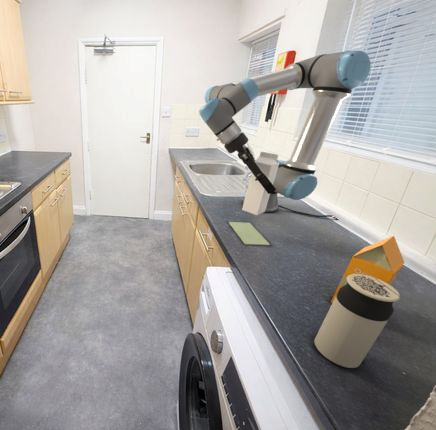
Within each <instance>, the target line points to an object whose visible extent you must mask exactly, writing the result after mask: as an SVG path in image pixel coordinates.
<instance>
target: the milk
mask: <svg viewBox="0 0 436 430" xmlns="http://www.w3.org/2000/svg"><path fill="white" fill-rule="evenodd" d="M278 158H279V154H278V153H277V154H276V153H271V152H265V151H261V152H260V154H259V156H258V157H257V158H256V159H255V163H256V164H257V165H258V167H259V168H260V170H261V171H262V172H263V173H264V174H265V175H266V177H267V178H268V179H269V181H270V182H271V183H272V184H273V183H274V180H275V176H276V173H277V170H278V166H279V161H278V160H279V159H278ZM257 176H258V175H257ZM255 179H256V177H255V176H254V175H253V173H252V172H251V174H250V178H249V180H248V185H247V188H246V189H247V190H246V193H245V197H244V198H245V200H244V199H243V201H244V204H243V203H242V208H241V210H242V211H244V212H246V213H249V214H252V215H255V216H259V215H261V214H263V213H266V212H265V210H266V206H267V203H268V200H269V196H270V194H268V193H267V191H266V190H265V189H264V187H263V186H262V185H261V184H260V182H259V181H258V180H257V181H255Z"/></svg>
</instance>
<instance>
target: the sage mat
mask: <svg viewBox="0 0 436 430" xmlns="http://www.w3.org/2000/svg"><path fill="white" fill-rule="evenodd" d="M228 224H229V225H230V226H231V228H232V229H233V231H234V232H235V233H236V234H237V236H238V237H239V238H240V240H241V241H242V243H243V244H244V245H247V246H266V247H267V246H268V247H269V246H271V244H270V243H269V242H268V241H267V239H266V238H265V237H264V236H263V235H262V234H261V233H260V231H258V229H257V228H256V227H254V226H253V224H252V223H251V222H244V221H243V222H242V221H228Z"/></svg>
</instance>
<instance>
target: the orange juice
mask: <svg viewBox="0 0 436 430" xmlns="http://www.w3.org/2000/svg"><path fill="white" fill-rule="evenodd" d="M404 264H405V260H404V258H403V255H402V253H401V250H400V248H399V245H398V242H397V239H396V237H395V235H392V236H390V237H389V236H388V237H387V238H385V239H382V240H380V241H377V242H374V243H372V244H370V245H367V246H365V247H363V248H362V249H360V250H359V251H358V252H356V253H355V254H354V255H353V256H352V257H351V259H350V261H349V264H348V265H347V267H346V270H345V271H344V274H343V275H342V277H341V279H340V281H339V283H338V285H337V288H336V290H335V292H334V295H333V297H332V299H331V301H330V303H331V304H332V303H333V301H334V299H335V297H336V295H337V293H338V291H339V289H340V288H341V287H342V286H344V285H346V284H347V277H348V276H349V275H351V274H362V275H367V276H371V277H374V278H377V279H379V280H381V281H383V282H385V283H387V284H389V285H390V286H392V284H393V283H394V281H395V279H396V277H397V276H398V274H399V272H400V270H401V269H402V267H403V266H404Z"/></svg>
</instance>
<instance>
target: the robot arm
mask: <svg viewBox="0 0 436 430" xmlns="http://www.w3.org/2000/svg"><path fill="white" fill-rule="evenodd" d="M371 66H372V65H371V60H370V56H369V54H368V53H367V52H366V51H363V50H345V51H340V52H333V53H324V54H323V53H322V54H318V55H316V56H315V55H314V56H312V57H308V58H306V59H303V60H299V61H297V62H294V63H290V64H288V65H287V66H286V67H285V68H282V69H278V70H275V71H274V70H273V71H270V72H266V73H264V74H259V75H256V76H252V77H248V78H247V77H246V78H245V79H241V80H237V81H232V82H229V83H226V84H222V85H213V86H210V87H209V88H208V89H207V90H206V91H205V95H204V101H205V104H204V105H203V106H202V107H201V108H200V109H199V110H198V113H199V116H200V117H201V119H202V121H203V122H204V123H205V124H206V125H207V126H208V128H209V129H210V131H211V132H212V133H213V134H214V135H215V137H216V141H217V142H220V143H221V144H222V145H224V149H225V150H226V151H227V152H228V154H233V153H235V152H237V157H238V158H239V159H240V160H241V161H242V162H243V164H244V165H246V167H247V168H248V169H249V171H250V172H251V173H253V175H254V176H255V177H256V179H255V181H257V180H258V181H259V182H260V184H261V185H262V186H263V187H264V189H265V190H266V191H267V193H268V194H270V196H269V200H268V203H267V206H266V210H265V212H264V213H274V212H277V211H278V209H279V208H281V209H284V210H286V211H289V212H293V213H295V214H301V215H305V216H308V217H309V216H310V217H316V218H332V219H335V220H336V221H339V218H338V217H337V218H338V219H337V218H335V217H336V216H335V217H332V216H333V215H331V214H326V215H325V214H323V215H319V214H312V213H307V212H304V211H297V210H293V209H291V208H289V207H286V206H283V205H279V199H278V198H279V197H278V194H280V195H282V196H283V197H285V198H287V199H290V200H293V201H299V200H303V199H306V197H308V196H310V195H311V194H312V193H313V192H314V191H315V190H316V189H317V186H318V177H317V176H316V175H315V173H316V171H317V169H316V166H315V162H316V160H317V158H318V156H319V153H320V151H321V149H322V147H323V145H324V142H325V141H326V138H327V135H328V133H329V131H330V129H331V127H332V125H333V122H334V121H335V118H336V115H337V113H338V111H339V109H340V107H341V105H342V102H343V100H345V99H346V98H348V97H350V96H351V94H352V92H353V90H355V89H357V88H359V87H361V86H362V85H363V84H364V83H365V82H366V81H367V79H368V77H369V75H370V71H371ZM297 89H312V90H311V91H312V92H311V93H312V95H313V96H314V97H313V101H312V103H311V106H310V107H309V111H308V113H307V116H306V118H305V120H304V123H303V125H302V128H301V130H300V133H299V135H298V137H297V140H296V141H295V145H294V147H293V150H292V152H291V154H290V157H289V159H288V160H283V159H282V160H281V159H277V160H278V161H279V166H278V170H277V173H276V176H275V180H274V183H273V184H272V183H271V182H270V181H269V179H268V178H267V177H266V175H265V174H264V173H263V172H262V171H261V170H260V168H259V167H258V165H257V164H256V163H255V160H256V159H255V157H254V155H253V154H252V152H251V150H250V149H249V147H246V146H245V145H246V144H247V143H248V142H249V138H248V136H247V135H246V134H245V133H244V132H242V128H241V127H240V126H239V124H238V123H237V121H235V119H234V118H233V117H234V116H236V115H237V114H239V113H240V112H241V111H242V110H243V109H244V108H246V107H247V106H248V105H249V104H251V103H252V102H253V101H254V100H255V99H256V98H258V97H261V96H264V95H269V94H272V93H276V92H280V91H284V90H287V91H293V90H297ZM257 175H258V176H257ZM244 200H245V197H244V199H243V201H242V205H243V204H244Z"/></svg>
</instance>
